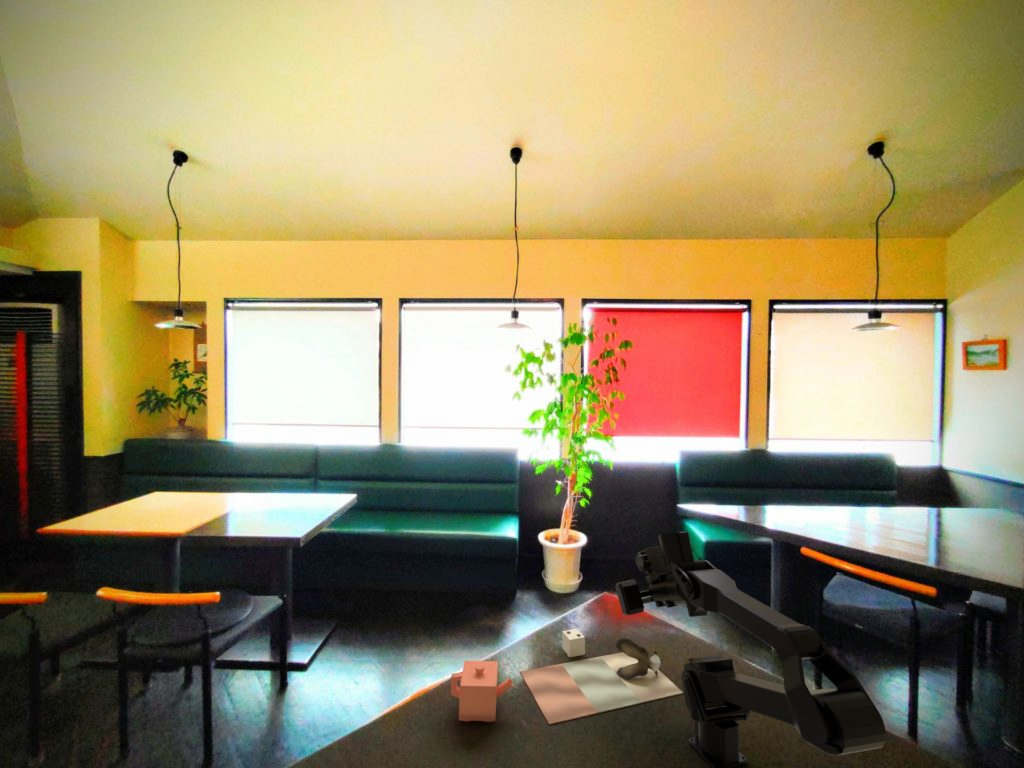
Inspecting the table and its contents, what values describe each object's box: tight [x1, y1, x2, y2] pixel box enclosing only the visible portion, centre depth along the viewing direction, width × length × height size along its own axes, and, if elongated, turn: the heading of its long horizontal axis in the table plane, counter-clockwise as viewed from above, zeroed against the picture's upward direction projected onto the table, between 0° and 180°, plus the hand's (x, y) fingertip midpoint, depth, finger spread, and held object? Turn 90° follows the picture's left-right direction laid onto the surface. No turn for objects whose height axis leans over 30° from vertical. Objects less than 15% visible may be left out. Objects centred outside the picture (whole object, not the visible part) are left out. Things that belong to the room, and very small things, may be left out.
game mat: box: [519, 652, 684, 726], centre depth 88 cm, size 16×30×1 cm, turn 108°
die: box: [561, 628, 586, 658], centre depth 100 cm, size 4×4×4 cm
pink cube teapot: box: [450, 660, 514, 723], centre depth 79 cm, size 8×12×8 cm, turn 90°
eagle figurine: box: [614, 637, 662, 679], centre depth 91 cm, size 8×7×9 cm
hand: (641, 591), depth 96 cm, fingers open, 9 cm apart
